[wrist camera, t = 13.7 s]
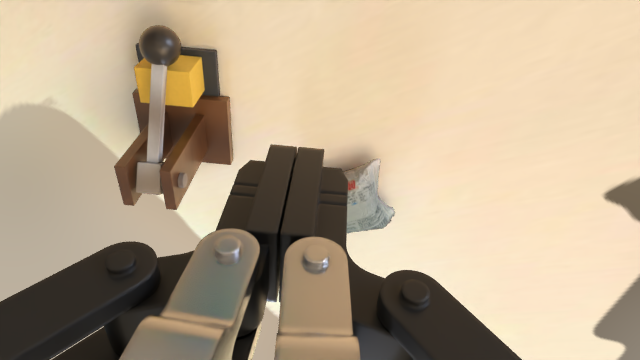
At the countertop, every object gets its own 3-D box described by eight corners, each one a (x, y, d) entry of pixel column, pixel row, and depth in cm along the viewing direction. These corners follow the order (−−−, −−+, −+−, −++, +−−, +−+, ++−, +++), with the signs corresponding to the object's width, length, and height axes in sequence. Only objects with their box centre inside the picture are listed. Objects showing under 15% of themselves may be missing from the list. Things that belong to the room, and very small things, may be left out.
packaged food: (281, 171, 52) (274, 198, 48) (379, 149, 49) (381, 175, 45) (305, 224, 57) (301, 252, 53) (395, 206, 54) (399, 234, 50)
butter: (137, 42, 44) (117, 59, 40) (216, 50, 44) (203, 67, 40) (145, 87, 47) (127, 106, 43) (220, 94, 47) (208, 114, 43)
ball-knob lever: (150, 28, 41) (132, 19, 38) (187, 32, 41) (174, 22, 38) (142, 187, 43) (125, 192, 40) (178, 191, 43) (164, 196, 39)
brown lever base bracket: (136, 88, 47) (80, 146, 37) (229, 96, 47) (196, 157, 37) (149, 151, 52) (101, 216, 42) (233, 159, 51) (204, 227, 42)
